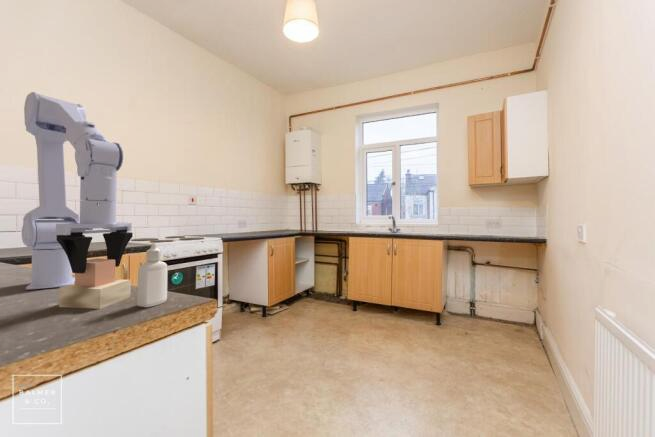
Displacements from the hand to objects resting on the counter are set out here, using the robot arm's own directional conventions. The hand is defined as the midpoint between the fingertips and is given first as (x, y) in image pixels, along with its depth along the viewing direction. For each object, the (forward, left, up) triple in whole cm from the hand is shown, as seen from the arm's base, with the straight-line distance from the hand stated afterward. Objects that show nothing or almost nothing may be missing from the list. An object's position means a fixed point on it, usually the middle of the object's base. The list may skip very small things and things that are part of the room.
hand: (97, 269), depth 60 cm
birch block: (0, 0, -7) cm, 7 cm away
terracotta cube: (0, 0, -3) cm, 3 cm away
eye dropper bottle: (+7, +9, -7) cm, 13 cm away
